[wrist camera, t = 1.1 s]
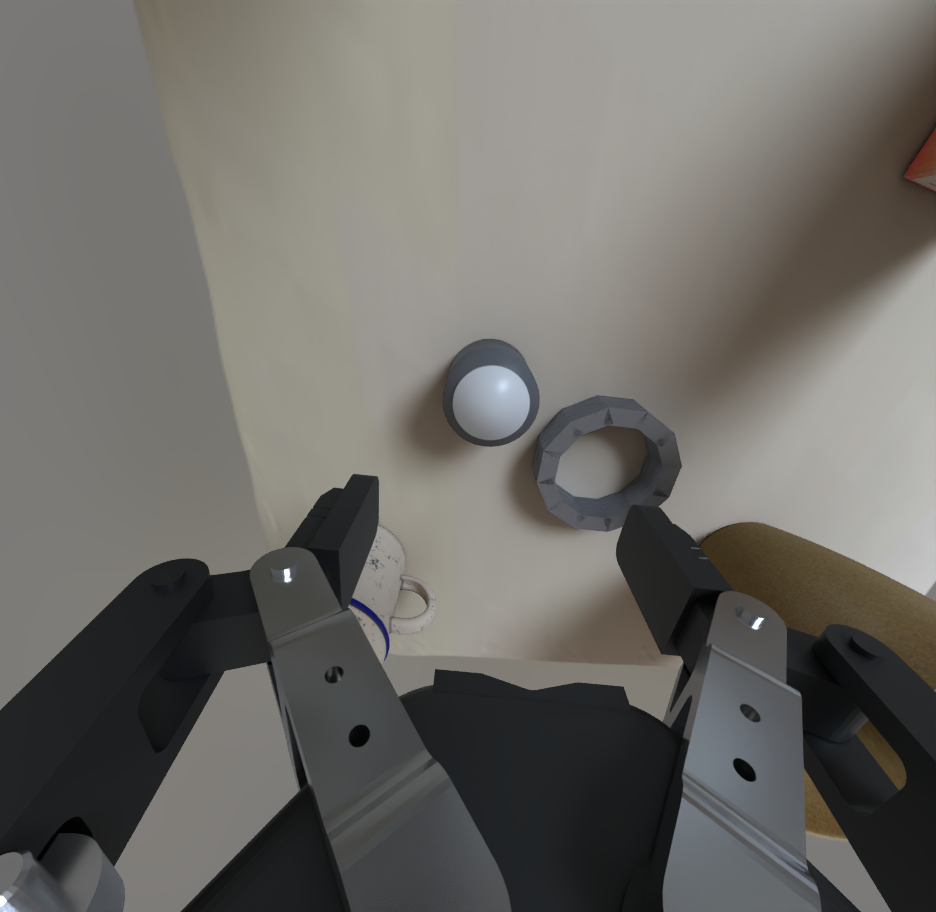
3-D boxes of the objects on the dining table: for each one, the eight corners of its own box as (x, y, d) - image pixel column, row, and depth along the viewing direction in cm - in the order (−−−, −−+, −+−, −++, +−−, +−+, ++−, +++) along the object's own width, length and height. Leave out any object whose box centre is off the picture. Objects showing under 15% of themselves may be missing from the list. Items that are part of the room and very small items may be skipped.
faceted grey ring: (547, 389, 27) (554, 401, 24) (681, 405, 27) (701, 417, 25) (524, 504, 31) (527, 523, 29) (640, 516, 31) (653, 536, 29)
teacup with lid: (312, 590, 36) (243, 722, 25) (300, 509, 32) (213, 627, 21) (439, 599, 36) (423, 735, 25) (444, 520, 32) (427, 643, 21)
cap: (452, 334, 25) (446, 349, 20) (535, 343, 25) (549, 361, 21) (445, 413, 28) (438, 444, 23) (521, 421, 28) (530, 453, 23)
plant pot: (698, 463, 29) (914, 654, 15) (869, 507, 30) (1220, 720, 16) (616, 600, 35) (711, 826, 21) (760, 631, 37) (942, 864, 22)
